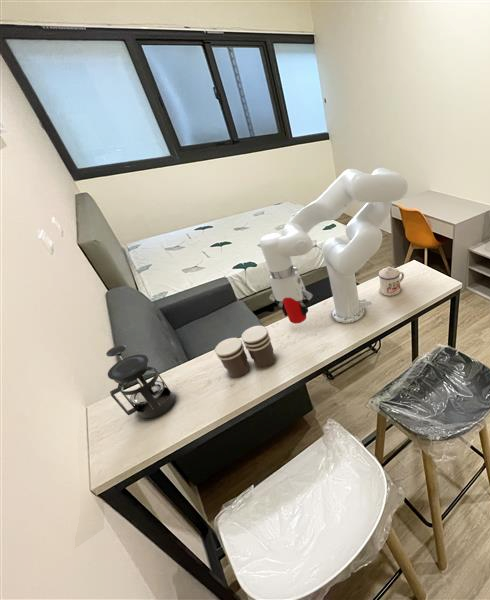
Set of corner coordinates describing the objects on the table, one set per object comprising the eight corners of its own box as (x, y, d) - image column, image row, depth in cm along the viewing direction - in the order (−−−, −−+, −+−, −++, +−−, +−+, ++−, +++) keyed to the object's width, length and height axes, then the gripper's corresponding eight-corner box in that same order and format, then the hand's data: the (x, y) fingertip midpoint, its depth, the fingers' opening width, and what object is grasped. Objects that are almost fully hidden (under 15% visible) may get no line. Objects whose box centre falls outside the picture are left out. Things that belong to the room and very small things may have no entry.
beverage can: (307, 323, 117) (298, 296, 110) (289, 326, 116) (279, 299, 109) (307, 313, 122) (299, 287, 115) (290, 316, 121) (281, 290, 114)
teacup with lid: (387, 298, 136) (385, 275, 129) (376, 290, 142) (373, 266, 135) (410, 288, 141) (409, 265, 135) (398, 280, 148) (396, 258, 141)
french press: (173, 387, 101) (135, 331, 88) (182, 403, 96) (144, 346, 82) (129, 411, 94) (81, 354, 81) (136, 430, 89) (86, 372, 76)
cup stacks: (275, 350, 113) (265, 322, 106) (279, 364, 107) (268, 336, 100) (226, 366, 107) (212, 338, 100) (227, 382, 102) (212, 353, 95)
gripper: (310, 264, 109) (322, 307, 119) (262, 266, 111) (277, 307, 121) (303, 276, 103) (316, 319, 113) (252, 277, 105) (269, 320, 115)
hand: (296, 313), depth 117 cm, fingers closed on beverage can, 6 cm apart
